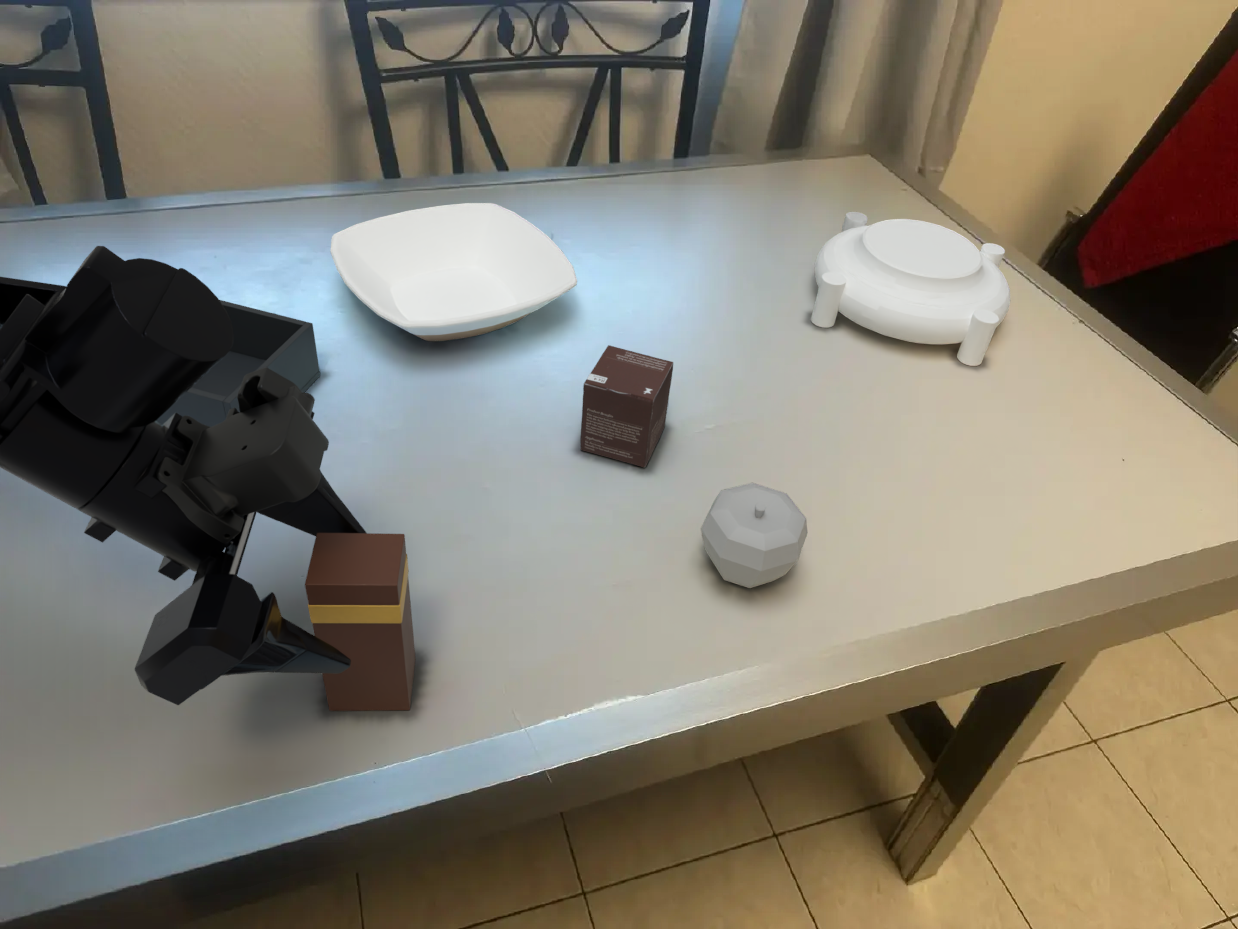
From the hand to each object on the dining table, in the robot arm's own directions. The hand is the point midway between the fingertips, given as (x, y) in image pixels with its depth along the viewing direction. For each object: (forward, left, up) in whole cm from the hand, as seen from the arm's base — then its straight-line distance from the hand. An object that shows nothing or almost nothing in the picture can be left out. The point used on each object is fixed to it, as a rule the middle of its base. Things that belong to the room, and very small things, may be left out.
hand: (357, 603), depth 56 cm
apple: (+21, +19, -8) cm, 30 cm away
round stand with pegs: (+30, +64, -8) cm, 71 cm away
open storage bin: (-26, +22, -8) cm, 35 cm away
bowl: (-14, +44, -8) cm, 47 cm away
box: (+8, +30, -8) cm, 32 cm away
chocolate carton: (0, 0, -8) cm, 8 cm away
